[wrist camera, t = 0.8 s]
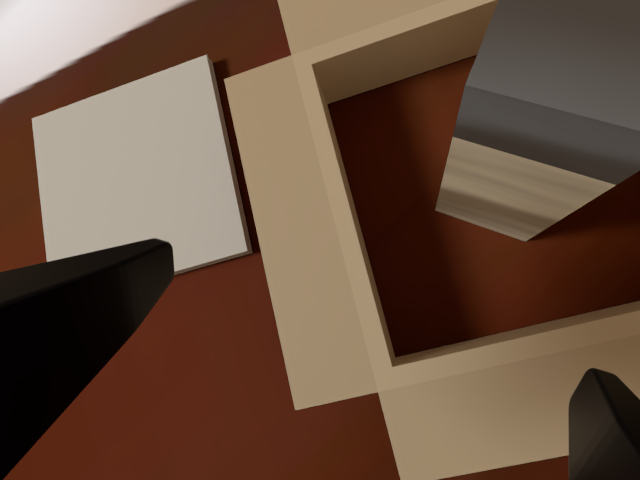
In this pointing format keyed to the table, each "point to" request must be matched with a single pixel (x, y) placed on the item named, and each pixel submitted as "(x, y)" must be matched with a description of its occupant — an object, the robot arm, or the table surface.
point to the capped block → (546, 114)
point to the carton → (355, 269)
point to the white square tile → (143, 170)
